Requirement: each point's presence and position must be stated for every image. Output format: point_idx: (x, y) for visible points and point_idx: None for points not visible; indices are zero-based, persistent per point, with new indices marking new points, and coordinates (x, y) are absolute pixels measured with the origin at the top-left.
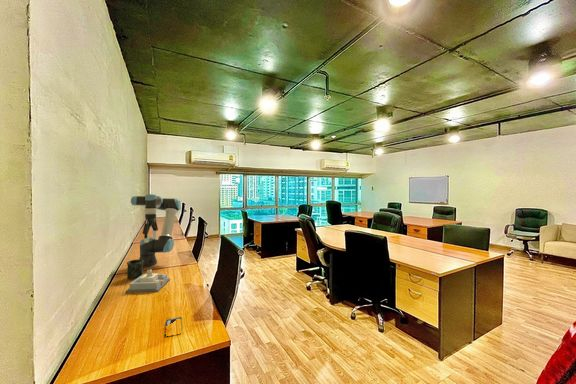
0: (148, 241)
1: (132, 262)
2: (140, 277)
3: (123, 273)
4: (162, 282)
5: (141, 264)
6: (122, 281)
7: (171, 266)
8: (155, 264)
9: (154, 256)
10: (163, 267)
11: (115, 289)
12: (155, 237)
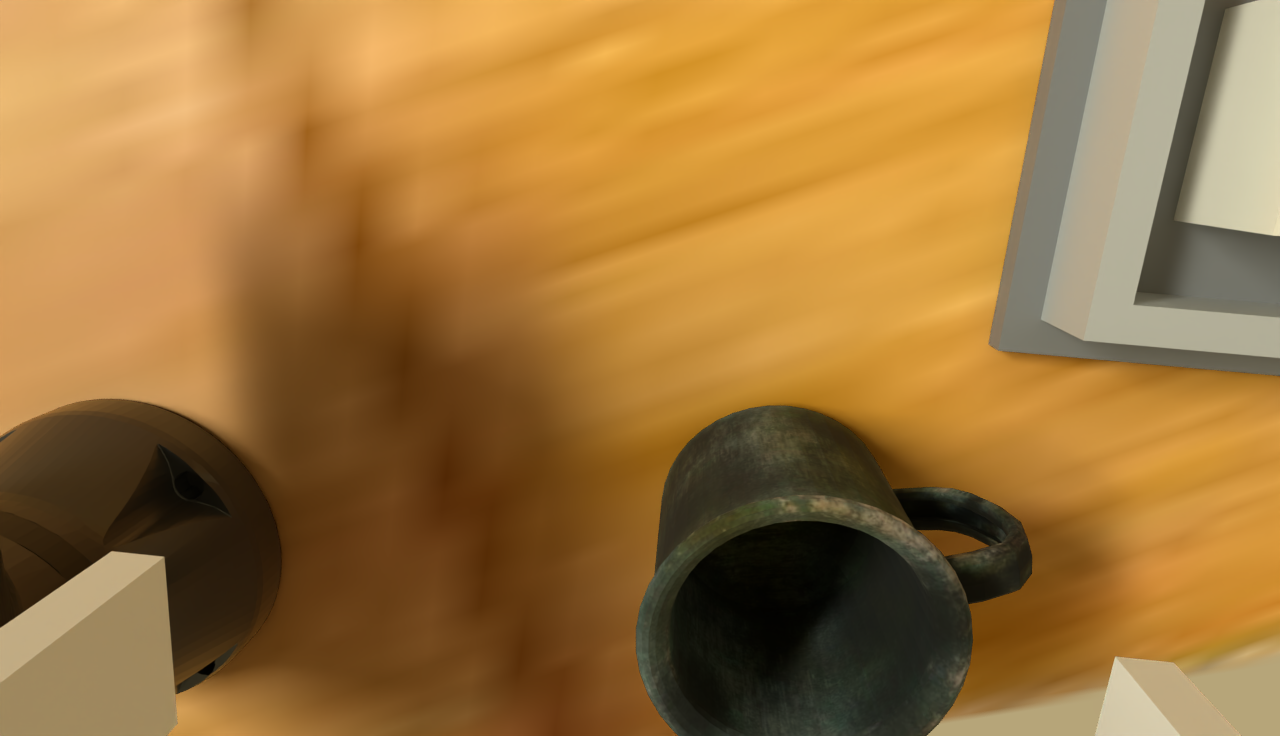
0: (1137, 683)
1: (709, 699)
2: (1255, 317)
3: (565, 721)
4: None
5: (841, 491)
6: None
7: (260, 69)
8: (151, 405)
9: (18, 486)
10: (314, 208)
11: (1253, 571)
12: (116, 625)
